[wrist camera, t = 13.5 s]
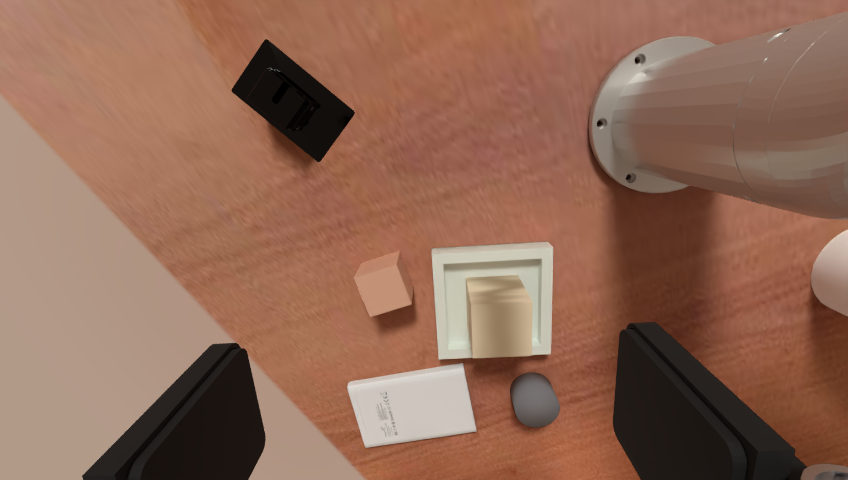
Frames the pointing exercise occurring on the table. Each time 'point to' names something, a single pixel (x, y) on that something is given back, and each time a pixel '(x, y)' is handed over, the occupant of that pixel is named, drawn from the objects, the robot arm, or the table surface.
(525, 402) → the grey rounded lump
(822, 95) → the robot arm
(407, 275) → the terracotta cube
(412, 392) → the external hard drive
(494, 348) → the beech block
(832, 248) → the white rounded pedestal block
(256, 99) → the black boxy piece
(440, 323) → the tray
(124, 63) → the table surface
